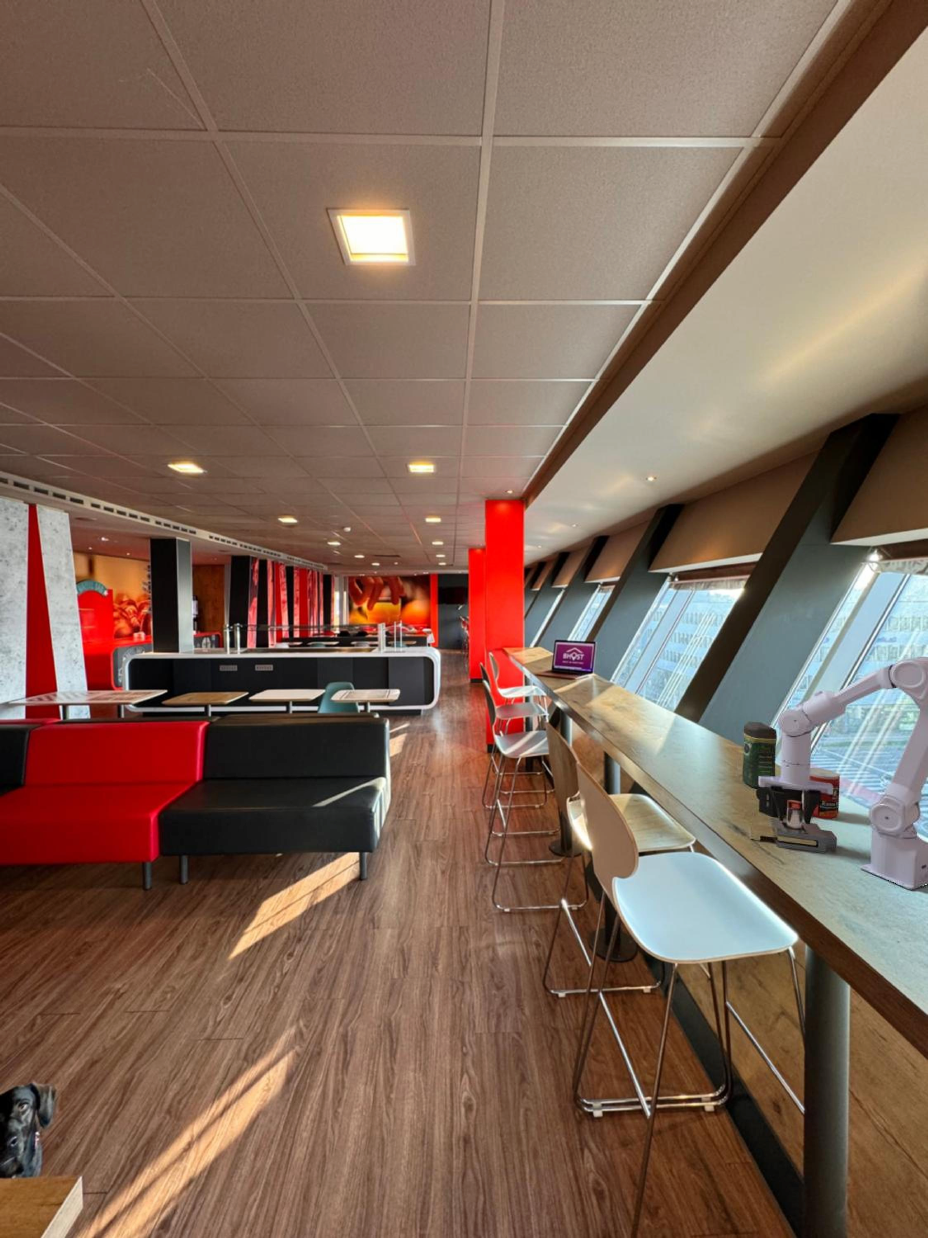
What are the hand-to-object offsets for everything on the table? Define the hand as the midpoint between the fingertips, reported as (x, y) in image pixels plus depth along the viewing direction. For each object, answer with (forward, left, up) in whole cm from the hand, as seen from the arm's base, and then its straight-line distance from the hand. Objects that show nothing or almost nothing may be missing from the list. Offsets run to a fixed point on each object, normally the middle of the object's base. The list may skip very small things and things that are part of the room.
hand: (793, 821), depth 128 cm
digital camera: (+15, -14, -5) cm, 21 cm away
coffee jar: (+33, -28, -5) cm, 44 cm away
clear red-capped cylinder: (0, 0, -5) cm, 5 cm away
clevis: (0, 0, -5) cm, 5 cm away
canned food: (+10, -23, -5) cm, 26 cm away
